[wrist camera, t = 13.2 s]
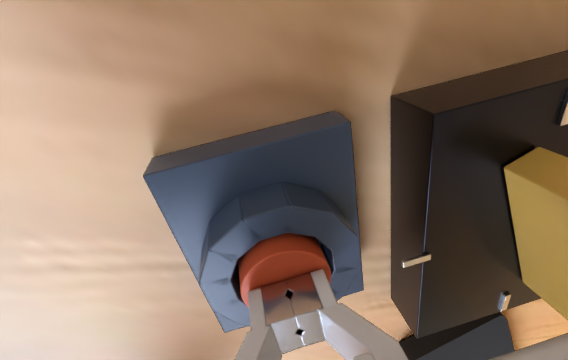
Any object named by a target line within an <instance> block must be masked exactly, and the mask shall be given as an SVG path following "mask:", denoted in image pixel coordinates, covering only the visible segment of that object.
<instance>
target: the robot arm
mask: <svg viewBox="0 0 568 360" xmlns="http://www.w3.org/2000/svg"><path fill="white" fill-rule="evenodd" d="M248 304H249V314H250V324H251V331H249V332H247V334H246V336H245V338H244V340H243V342H242V345H241V347H240V349H239V351H238V353H237V355H236V357H235V359H234V360H281V358H282V354H284V353H287V352H290V351H292V350H295V349H298V348H301V347H304V346H307V345H311V344H314V343H318V342H321V341H325V340H326V342H327V343H328V344H329V345H330V346H331V347H332V348H334V349H335V350H336V351H337V352H338V353H339V354H340V355H341V356H342V357H343V358H344V359H345V360H408V358H407V357H406V355H405V353H404V351H403V349H402V348H401V346H400V344H399V342H398V341H397V340H395V339H394V338H392V337H391V336H389V335H388V334H387V333H385V332H384V331H382V330H381V329H379V328H378V327H376V326H375V325H373V324H372V323H371V322H369V321H368V320H366V319H365V318H363V317H362V316H360V315H359V314H357V313H356V312H354V311H353V310H352V309H350V308H349V307H347V306H346V305H344V304H343V303H339V304H338V303H337V300H336V298H335V296H334V293H333V291H332V289H331V286H330V284H329V281H328V279H327V277H326V274H325V272H324V270H323V269H320V270H317V271H314V272H309V273H306V274H303V275H300V276H297V277H294V278H290V279H287V280H286V281H282V282H278V283H275V284H271V285H267V286H264V287H260V288H257V289H253V290H250V291H248ZM490 360H568V333H566V334H563V335H560V336H557V337H554V338H551V339H548V340H545V341H542V342H540V343H537V344H534V345H531V346H528V347H525V348H522V349H519V350H516V351H513V352H510V353H507V354H504V355H501V356H498V357H495V358H493V359H490Z"/></svg>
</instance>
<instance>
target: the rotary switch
mask: <svg viewBox="0 0 568 360" xmlns="http://www.w3.org/2000/svg"><path fill="white" fill-rule="evenodd" d="M537 147H542V148H544V149H547V150H550V151H552V152H555V153H557V154H560V155H563V156H565V157H568V51H564V52H560V53H557V54H553V55H549V56H545V57H541V58H537V59H533V60H529V61H525V62H522V63H518V64H514V65H510V66H506V67H502V68H498V69H494V70H490V71H487V72H483V73H479V74H475V75H471V76H467V77H463V78H459V79H456V80H452V81H448V82H444V83H440V84H436V85H432V86H428V87H424V88H421V89H417V90H413V91H409V92H405V93H401V94H397V95H393V96H391V298H392V300H393V302H394V303H395V305H396V306H397V308H398V310H399V311H400V313H401V314H402V316H403V318H404V319H405V321H406V322H407V324H408V326H409V327H410V329H411V330H412V332H413V334H414V335H415V337H416V338H421V337H424V336H427V335H430V334H433V333H436V332H439V331H442V330H445V329H448V328H451V327H454V326H457V325H461V324H464V323H467V322H470V321H473V320H476V319H479V318H482V317H485V316H488V315H491V314H494V313H497V312H501V311H504V310H507V309H510V308H513V307H516V306H519V305H522V304H525V303H528V302H531V301H534V300H537V299H541V297H540V296H539V295H537V294H536V293H535V292H534V291H533V290H532V289H530V288H529V287H528V286H527V285H526V284H524V283H523V280H522V274H521V268H520V262H519V256H518V250H517V244H516V238H515V232H514V227H513V221H512V215H511V209H510V203H509V197H508V191H507V185H506V179H505V173H504V167H505V166H506V165H508V164H510V163H512V162H513V161H515V160H517V159H518V158H520V157H522V156H524V155H525V154H527V153H529V152H530V151H532V150H534V149H535V148H537Z"/></svg>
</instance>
